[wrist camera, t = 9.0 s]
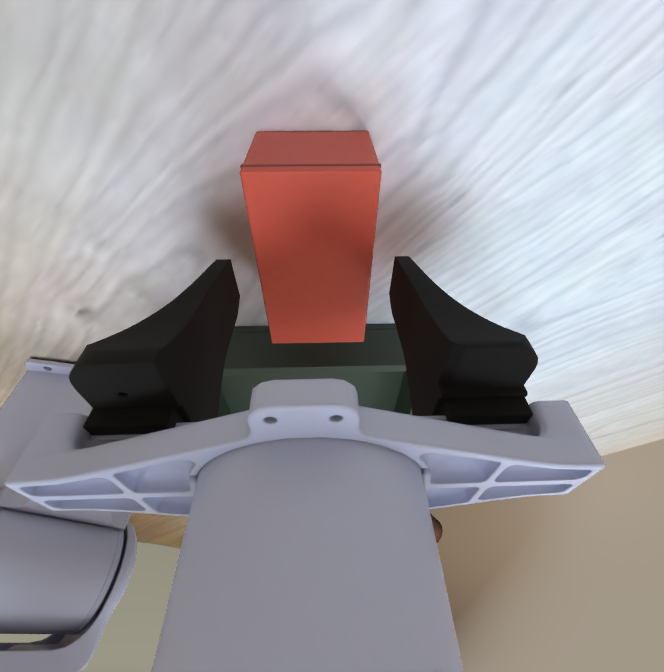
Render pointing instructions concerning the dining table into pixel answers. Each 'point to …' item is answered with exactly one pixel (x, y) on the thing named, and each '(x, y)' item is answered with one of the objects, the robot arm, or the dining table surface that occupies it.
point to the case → (313, 230)
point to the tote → (317, 367)
